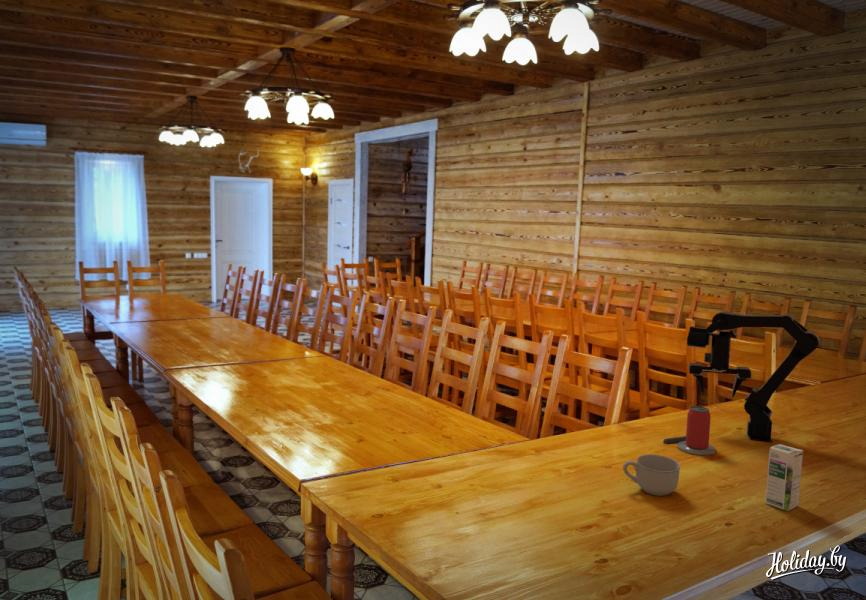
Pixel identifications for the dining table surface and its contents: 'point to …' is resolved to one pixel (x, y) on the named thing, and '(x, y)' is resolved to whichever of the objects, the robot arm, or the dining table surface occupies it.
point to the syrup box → (784, 477)
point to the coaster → (703, 452)
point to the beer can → (698, 427)
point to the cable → (674, 439)
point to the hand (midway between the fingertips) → (717, 395)
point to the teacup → (655, 473)
